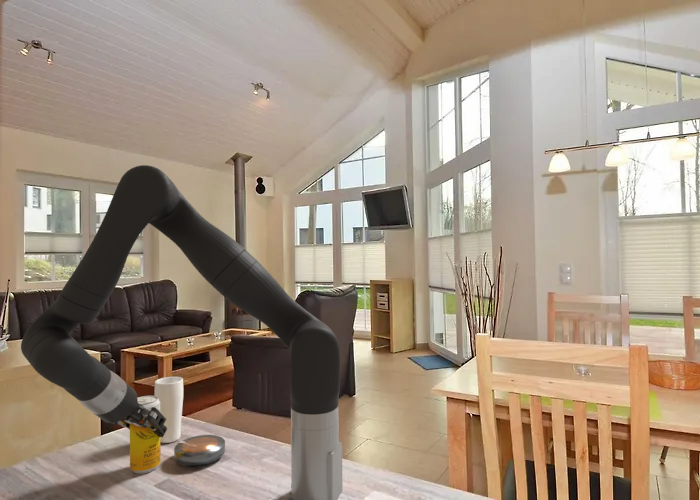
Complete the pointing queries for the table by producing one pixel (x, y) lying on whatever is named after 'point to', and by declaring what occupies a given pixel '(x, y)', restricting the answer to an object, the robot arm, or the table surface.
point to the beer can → (145, 442)
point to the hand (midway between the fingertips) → (151, 431)
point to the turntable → (199, 450)
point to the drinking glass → (170, 406)
